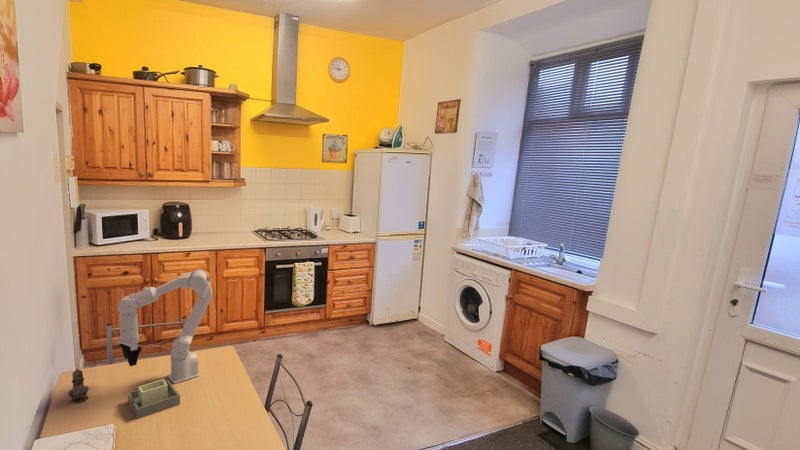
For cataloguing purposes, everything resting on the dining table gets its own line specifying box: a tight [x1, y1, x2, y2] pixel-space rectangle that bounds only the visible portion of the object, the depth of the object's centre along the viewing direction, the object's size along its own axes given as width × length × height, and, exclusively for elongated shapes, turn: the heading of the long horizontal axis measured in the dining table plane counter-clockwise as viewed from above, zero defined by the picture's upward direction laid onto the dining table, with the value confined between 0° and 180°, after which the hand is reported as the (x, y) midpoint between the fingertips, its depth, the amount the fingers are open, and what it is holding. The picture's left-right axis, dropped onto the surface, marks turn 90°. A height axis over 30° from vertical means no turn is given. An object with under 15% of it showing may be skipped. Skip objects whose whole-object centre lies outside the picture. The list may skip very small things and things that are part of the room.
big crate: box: [127, 380, 181, 420], centre depth 144 cm, size 13×13×4 cm
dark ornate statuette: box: [67, 367, 90, 405], centre depth 144 cm, size 6×6×12 cm
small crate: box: [137, 378, 168, 407], centre depth 144 cm, size 8×5×6 cm, turn 135°
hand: (130, 361), depth 154 cm, fingers open, 7 cm apart
